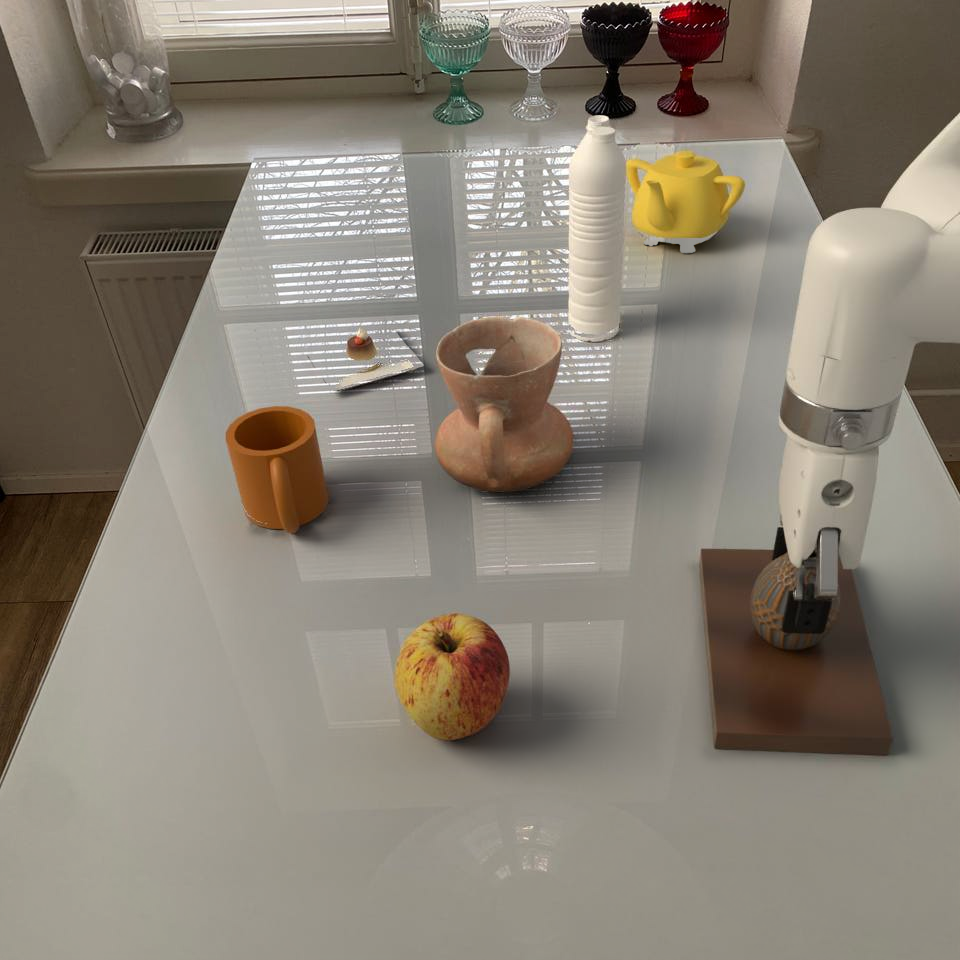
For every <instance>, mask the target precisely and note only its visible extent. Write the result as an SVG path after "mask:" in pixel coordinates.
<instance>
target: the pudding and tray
mask: <svg viewBox="0 0 960 960" xmlns="http://www.w3.org/2000/svg"><path fill="white" fill-rule="evenodd" d="M367 331H368V330H366V329H364V328H362V327H361V328H360V327H358V330H357V332H356V334H357V335H356V336H353V337H351V338H349V339H348V341H347V348H346V354H347V355H348V357H350V358H351V359H354V360H358V361H361V360H369V359H372V358H374V357H375V355H377V349H376V346H375V344H374V342H373V340H372V338H371V337H370V336H368V333H367ZM405 360H407V359H405ZM400 361H404V360H400ZM378 363H379V362H378ZM384 363H385V362H384ZM395 363H396V362H395ZM381 364H383V363H380V365H379V364H376V365H374V366H372V367H369V368H368V369H364V370H367V371H364V372H362V371H360V372H357V373H360V374H357V373H353V375H349V376H346V378H343V381H342V380H339V384H336V388H341V387H344V386H348V385H351V384H355V383H358V382H362V381H366V380H369V379H373V378H376V377H380V376H383V375H387V374H391V373H394V372H398V371H401V370H405V369H408V368H412V367H414V366H413V365H412V364H411V363H410V361H409V360H408V362H407V361H404V362H403V363H402V362H399V364H395V365H394V367H393V366H392V365H391V366H389V365H390V364H388V363H387V365H385V364H383V365H381ZM391 364H392V363H391ZM402 364H403V365H402ZM378 365H379V366H378ZM396 365H398V366H396ZM370 368H371V369H370ZM415 370H416V369H414V370H411V371H407V372H404V373H400V374H397V375H393V376H389V377H386V378H382V379H379V380H375V381H372V382H368V383H364V384H361V385H357V386H354V387H350V388H347V389H343V390H340V391H339V392H342V391H345V390H349V389H353V388H356V387H361V386H363V385H368V384H371V383H374V382H377V381H381V380H385V379H388V378H391V377H392V378H393V377H395V376H399V375H402V374H407V373H410V372H412V371H415ZM355 374H356V375H355ZM346 375H348V374H346ZM343 377H344V376H343ZM348 377H349V378H348ZM340 381H341V382H340ZM337 383H338V382H337Z"/></svg>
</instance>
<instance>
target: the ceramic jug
mask: <svg viewBox="0 0 960 960" xmlns="http://www.w3.org/2000/svg"><path fill="white" fill-rule="evenodd" d="M491 349H492V350H495V351H494V352H493V354H492V355H491V356H490V357H489V358H488V359H487V361H486V363H485V365H484V367H483V370H481V373H480V374H477V372H475V370H474V369H473V368H472V365H471V363H470V361H469V359H468V358H467V355H468V354H469V353H470V352H472V351H476V350H491ZM562 351H563V341H562V338H561V336H560V334H559V332H558V331H557V330H556V329H555V328H553V327H552V326H551V325H549V324H548V323H546V322H543V321H540V320H537V319H535V318H531V317H525V316H516V317H515V318H514V319H511V318H509V317H507V316H506V315H495V316H494V315H493V316H486V317H481V318H476V319H472V320H470V321H469V320H468V321H466V322H465V323H462V324H460V325H458V326H456V327H455V328H454V329H452V330H451V331H448V332H447V333H446V334H445V335H444V336H442V338H441V339H440V341H439V342H438V344H437V346H436V351H435V353H436V354H435V355H436V361H437V364H438V369H439V372H440V374H441V376H442V380H443V382H444V384H445V385H446V388H447V390H448V391H449V393H450V396H451V397H452V399H453V401H454V402H455V404H456V406H457V408H456V409H455V410H453V411H452V412H451V413H450V414H448V416H446V418H445V419H444V420H443V421H442V422H441V424H440V426H439V428H438V430H437V432H436V436H435V440H434V449H435V455H436V458H437V461H438V462H439V464H440V466H441V467H442V469H443V470H444V471H445V473H447V475H449V476H450V477H451V478H452V479H453V480H454V481H457V482H458V483H460V484H463V485H465V486H467V487H469V488H473V489H477V490H481V491H486V492H492V493H508V492H516V491H523V490H526V489H530V488H534V487H536V486H539V485H541V484H543V483H545V482H548V481H549V480H550V479H552V478H554V477H555V476H556V475H557V474H558V473H560V471H562V469H563V468H564V467H565V466H566V464H567V463H568V461H569V460H570V457H571V454H572V452H573V448H574V442H575V441H574V440H575V439H574V431H573V428H572V426H571V423H570V422H569V420H568V418H567V417H566V416H565V414H564V413H563V412H562V411H561V410H560V409H559V408H558V407H556V406H555V405H553V404H551V403H550V402H548V399H549V398H550V395H551V393H552V390H553V388H554V385H555V382H556V379H557V376H558V371H559V368H560V364H561V360H562V353H563V352H562Z"/></svg>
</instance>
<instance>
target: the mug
mask: <svg viewBox="0 0 960 960" xmlns="http://www.w3.org/2000/svg"><path fill="white" fill-rule="evenodd" d="M225 444H226V448H227V451H228V453H229V458H230V462H231V466H232V471H233V473H234V477H235V480H236V481H235V482H236V484H237V485H236V486H237V489H238V493H239V496H240V500H241V504H242V507H243V506H244V508H245V510H246V511H247V513H248V515H250V516H251V517H252V518H254V519H255V520H254V519H252V518H251V517H249V516H248V515H247V513H246V512H245V510H244V508H243V511H244V514H245V515H246V518H248V520H249V521H250V522H252V523H253V524H255V525H257V526H259V527H262V528H266V529H270V530H271V529H273V530H275V529H276V530H284V531H285V533H288V534H295V533H297V532H298V530H299V528H300V527H301V526H302V525H305V524H307V523H310V522H312V521H313V520H315V519H316V518H318V517H319V516H321V514H322V513H323V512H324V511H325V510H326V509H327V506H328V504H329V500H330V499H329V493H328V488H327V481H326V477H325V472H324V466H323V461H322V454H321V449H320V445H319V440H318V433H317V429H316V423H315V419H314V418H313V417H312V416H311V414H310V413H308V412H307V411H305V410H302V409H301V408H297V407H292V406H288V405H287V406H286V405H284V406H283V405H273V406H266V407H261V408H256V409H254V410H250V411H248V412H245V413H244V414H242V415H241V416H239V417H237V418H236V419H234V421H232V422H231V423H230V424H229V426H228V428H227V429H226V430H225ZM256 520H257V521H260V522H257V521H256ZM261 522H262V523H261ZM265 523H267V524H265Z"/></svg>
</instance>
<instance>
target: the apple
mask: <svg viewBox="0 0 960 960" xmlns="http://www.w3.org/2000/svg"><path fill="white" fill-rule="evenodd" d="M510 675H511V668H510V659H509V654H508V652H507V650H506V647H505V644H504V643H503V641H502V640H501V638H500V636H499V634H498V633H497V632H496V631H495V630H494V628H492V627H491V626H490V625H489V624H488V623H486V622H485V621H483V620H482V619H479V618H477V617H475V616H473V615H469V614H465V613H459V612H455V613H448V614H443V615H439V616H436V617H434V618H431V619H429V620H427V621H424V622H423V623H422V624H420V625H419V626H418V627H417V628H415V630H413V632H411V634H410V635H408V636H407V638H406V639H405V641H404V642H403V644H402V646H401V648H400V651H399V653H398V655H397V659H396V663H395V667H394V685H395V690H396V694H397V696H398V698H399V701H400V703H401V705H402V707H403V708H404V711H405V712H406V714H407V715H408V716H409V718H410V719H411V720H412V721H413V722H414V723H415V724H416V725H417V726H418V727H419V728H420V729H421V730H422V731H423V732H424V733H426V734H427V735H428V736H429V737H432V738H434V739H437V740H441V741H454V740H459V739H463V738H466V737H469V736H472V735H474V734H477V733H478V732H480V731H481V730H483V729H484V728H485V727H486V726H487V725H488V724H489V723H490V722H491V721H492V720H493V719H494V718H495V717H496V715H497V714H498V712H499V710H500V709H501V707H502V706H503V703H504V700H505V698H506V696H507V692H508V688H509V684H510V683H509V682H510V677H511V676H510Z"/></svg>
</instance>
